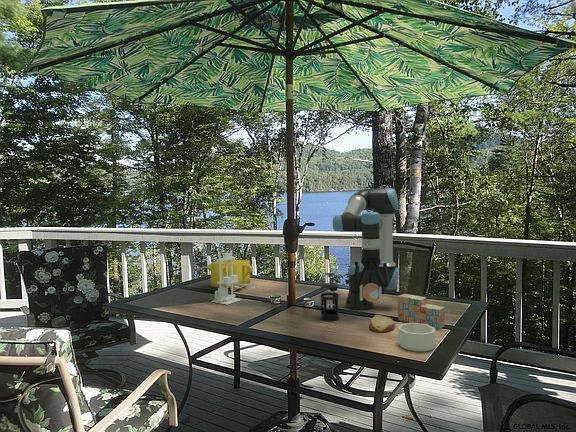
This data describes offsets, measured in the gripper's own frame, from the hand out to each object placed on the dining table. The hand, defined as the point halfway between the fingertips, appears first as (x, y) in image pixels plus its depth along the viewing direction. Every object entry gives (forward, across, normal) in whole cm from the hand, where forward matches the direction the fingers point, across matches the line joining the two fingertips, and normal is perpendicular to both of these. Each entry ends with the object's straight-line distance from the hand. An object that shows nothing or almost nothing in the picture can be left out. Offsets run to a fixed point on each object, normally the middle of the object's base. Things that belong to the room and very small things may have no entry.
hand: (371, 300), depth 181 cm
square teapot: (+17, -110, +60) cm, 126 cm away
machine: (+17, -85, +28) cm, 91 cm away
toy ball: (+1, 0, 0) cm, 1 cm away
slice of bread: (+17, 0, +18) cm, 25 cm away
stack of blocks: (+17, +17, +29) cm, 37 cm away
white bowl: (+16, +19, -1) cm, 25 cm away
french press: (+17, -26, +21) cm, 37 cm away
